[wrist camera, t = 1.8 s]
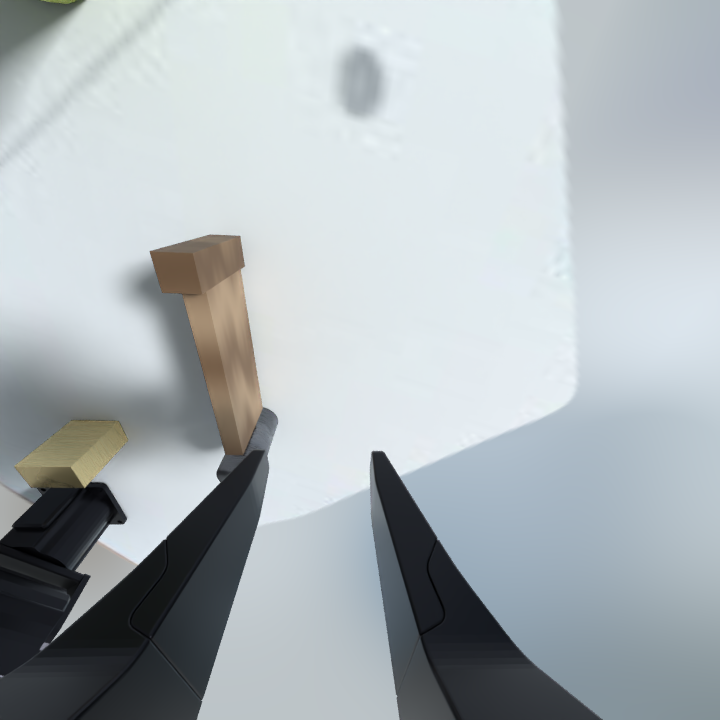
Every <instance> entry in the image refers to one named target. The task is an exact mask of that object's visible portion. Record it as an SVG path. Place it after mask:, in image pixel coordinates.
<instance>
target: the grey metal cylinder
mask: <svg viewBox="0 0 720 720" xmlns="http://www.w3.org/2000/svg"><path fill="white" fill-rule="evenodd" d="M262 408H263V407H262ZM277 424H278V419H277V416H276V415H275V414H274V413H273V412H272V411H271V410H269V409H267V408H263V409H262V411H261V414H260V416H259V419H258V421H257V423H256V426H255V428H254V430H253V433H252V435H251V438H250V440H249V442H248V445H247V447H246V449H245V452H244V454H243V455H225V456H224V458H223V460H222V462H221V464H220V466H219V468H218V470H217V478H218V480H219V481H220V482H222V481H223V480H224V479H225V478H226V477H227V476H228V475H229V474H230V473H231V472H232V471H233V470H234V469H235V467H236V466H237V465H238V464H239V463H240V462H241V461H242V460H243V459H244V458H245V457H246V456H247V455H248V454H249V453H250V452H251V451H252V450H254V449H264V450H266V452H267V455H268V452H269V449H270V446H271V443H272V440H273V437H274V434H275V430H276V427H277Z"/></svg>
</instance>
